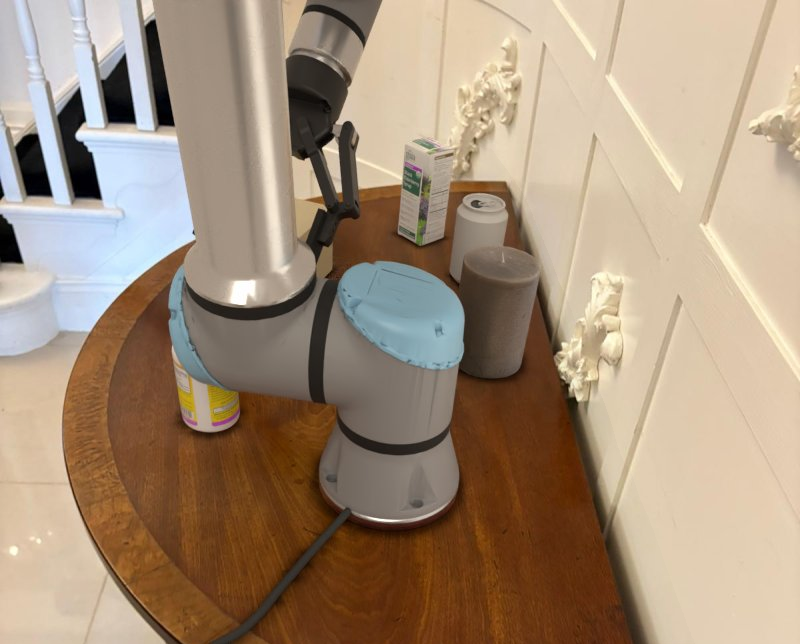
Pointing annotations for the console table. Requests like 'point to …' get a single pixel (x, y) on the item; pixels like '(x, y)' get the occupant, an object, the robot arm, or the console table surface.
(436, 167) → the syrup box
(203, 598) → the console table surface
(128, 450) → the console table surface
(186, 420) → the supplement bottle
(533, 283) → the pillar candle
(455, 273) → the can
